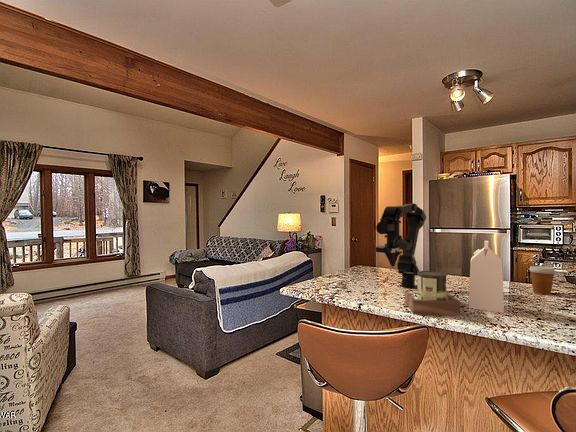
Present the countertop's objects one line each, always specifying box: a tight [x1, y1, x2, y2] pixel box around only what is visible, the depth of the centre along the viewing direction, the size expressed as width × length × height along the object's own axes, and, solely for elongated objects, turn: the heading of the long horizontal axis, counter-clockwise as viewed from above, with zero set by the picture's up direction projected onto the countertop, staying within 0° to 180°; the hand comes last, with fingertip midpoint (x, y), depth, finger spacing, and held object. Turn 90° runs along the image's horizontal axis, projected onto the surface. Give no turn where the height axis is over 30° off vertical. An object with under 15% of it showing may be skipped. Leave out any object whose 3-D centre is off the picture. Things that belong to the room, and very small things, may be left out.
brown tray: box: [404, 290, 461, 317], centre depth 125 cm, size 14×16×5 cm
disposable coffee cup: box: [528, 265, 557, 296], centre depth 148 cm, size 10×10×12 cm
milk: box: [468, 240, 505, 314], centre depth 128 cm, size 12×12×26 cm
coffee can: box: [417, 270, 448, 300], centre depth 125 cm, size 10×10×14 cm
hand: (392, 266), depth 150 cm, fingers closed
